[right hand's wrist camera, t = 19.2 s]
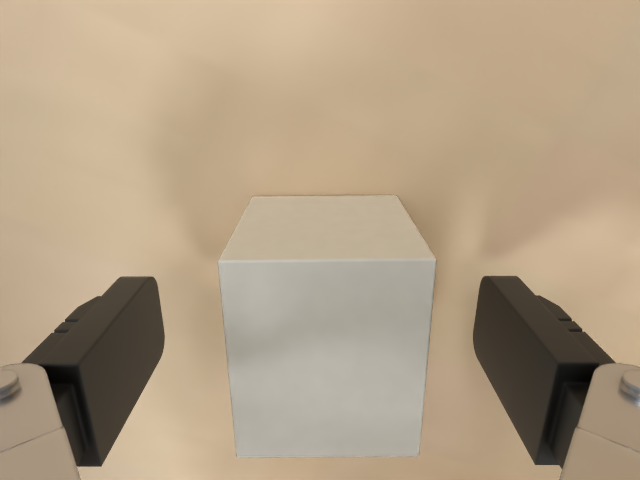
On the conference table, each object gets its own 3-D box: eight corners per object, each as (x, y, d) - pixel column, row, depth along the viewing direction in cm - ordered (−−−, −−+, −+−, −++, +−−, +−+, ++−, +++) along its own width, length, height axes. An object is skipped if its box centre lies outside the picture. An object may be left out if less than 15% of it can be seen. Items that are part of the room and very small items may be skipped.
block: (251, 196, 13) (216, 260, 9) (397, 194, 13) (437, 258, 9) (261, 341, 15) (235, 459, 10) (389, 340, 15) (420, 457, 10)
